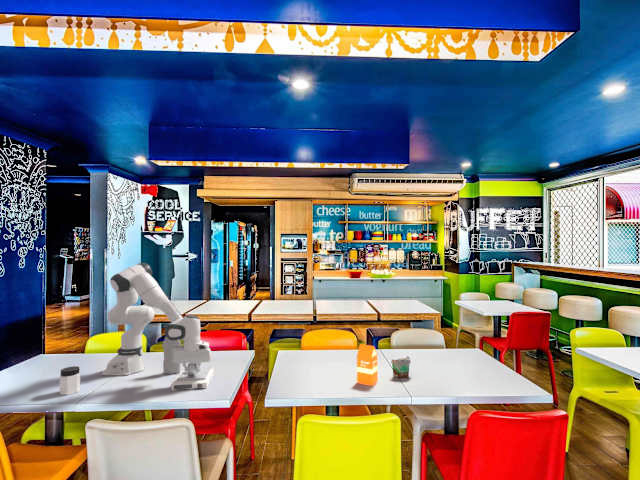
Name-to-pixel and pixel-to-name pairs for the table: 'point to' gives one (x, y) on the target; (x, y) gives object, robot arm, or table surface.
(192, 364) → the cylinder
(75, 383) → the jar
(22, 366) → the table surface
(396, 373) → the food container
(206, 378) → the white rimmed tray
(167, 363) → the tall pale column
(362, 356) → the orange juice
